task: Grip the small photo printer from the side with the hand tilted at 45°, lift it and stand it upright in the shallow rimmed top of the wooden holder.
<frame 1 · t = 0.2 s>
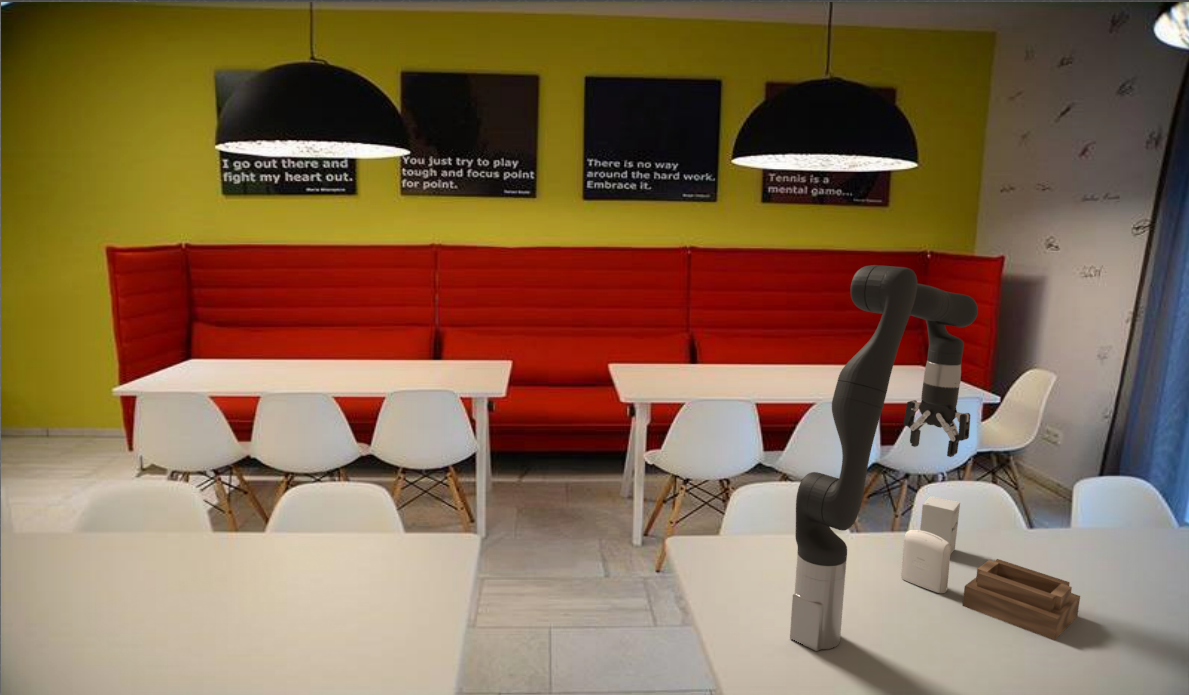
hand: (932, 451, 181), 29 cm above the table, tool pointing down, fingers open, 8 cm apart
supplement box: (936, 551, 196), on the table
photo printer: (923, 585, 179), on the table
wooden holder: (1019, 612, 168), on the table
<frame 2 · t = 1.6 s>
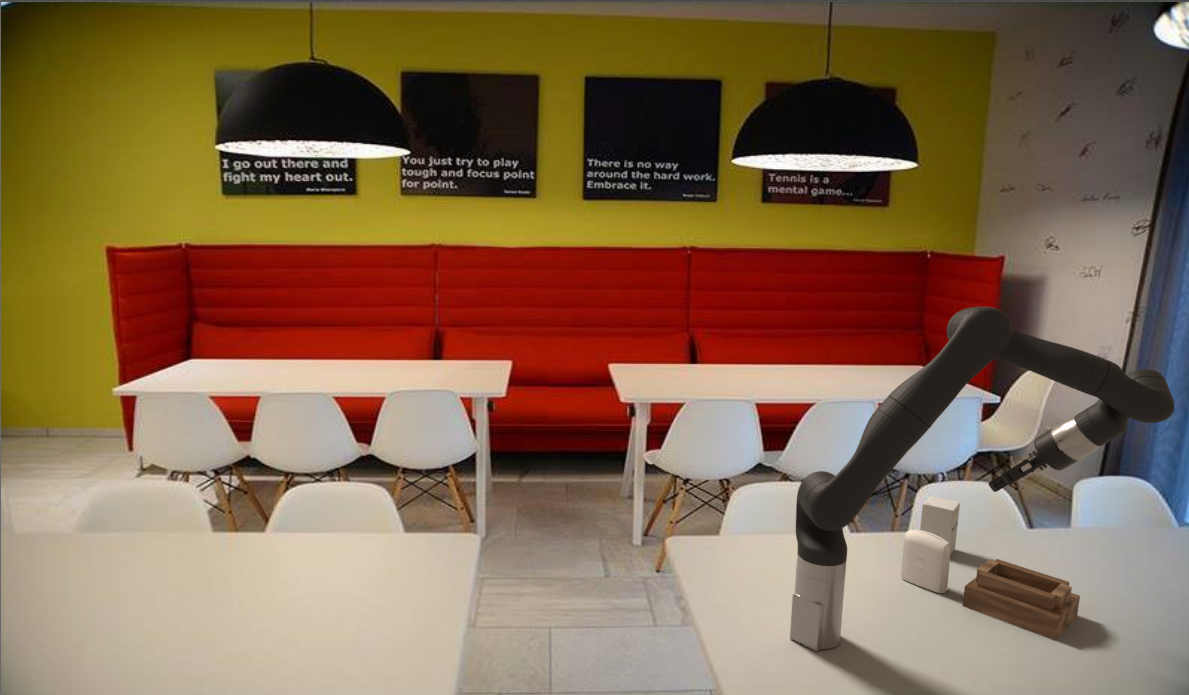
hand: (999, 483, 164), 28 cm above the table, tool tilted 45°, fingers open, 8 cm apart
nothing on the table moved.
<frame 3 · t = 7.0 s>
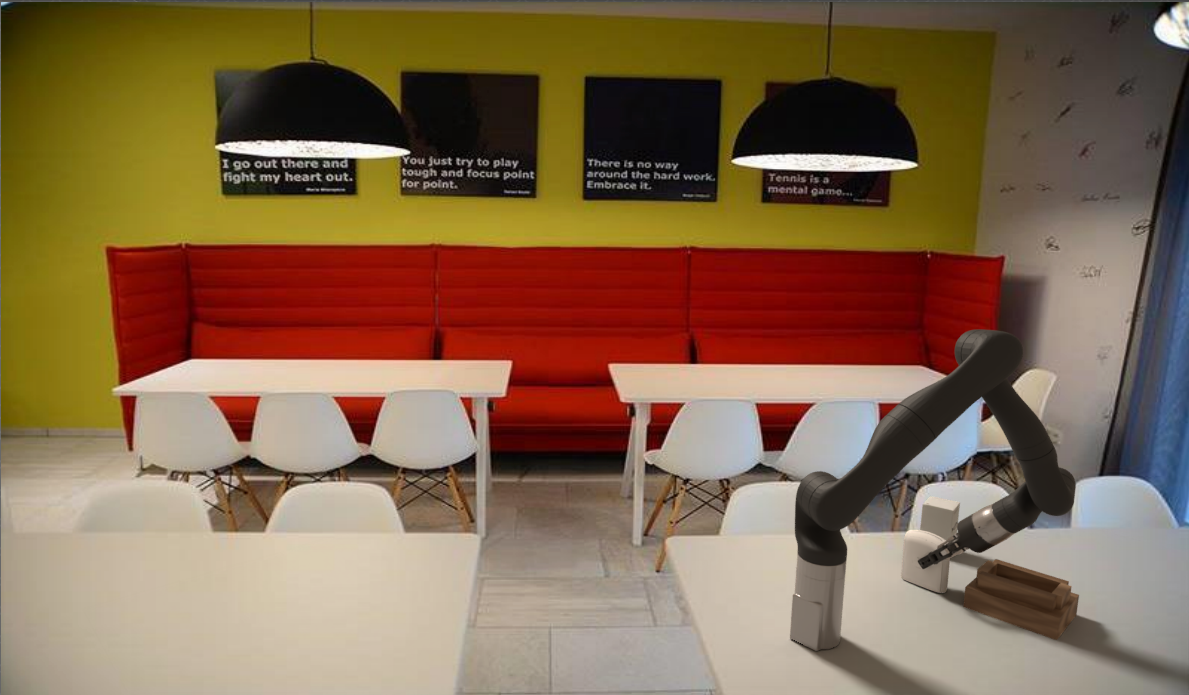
hand: (925, 561, 178), 6 cm above the table, tool tilted 45°, fingers closed on photo printer, 4 cm apart
photo printer: (923, 585, 179), on the table, touching gripper
everything else where it was.
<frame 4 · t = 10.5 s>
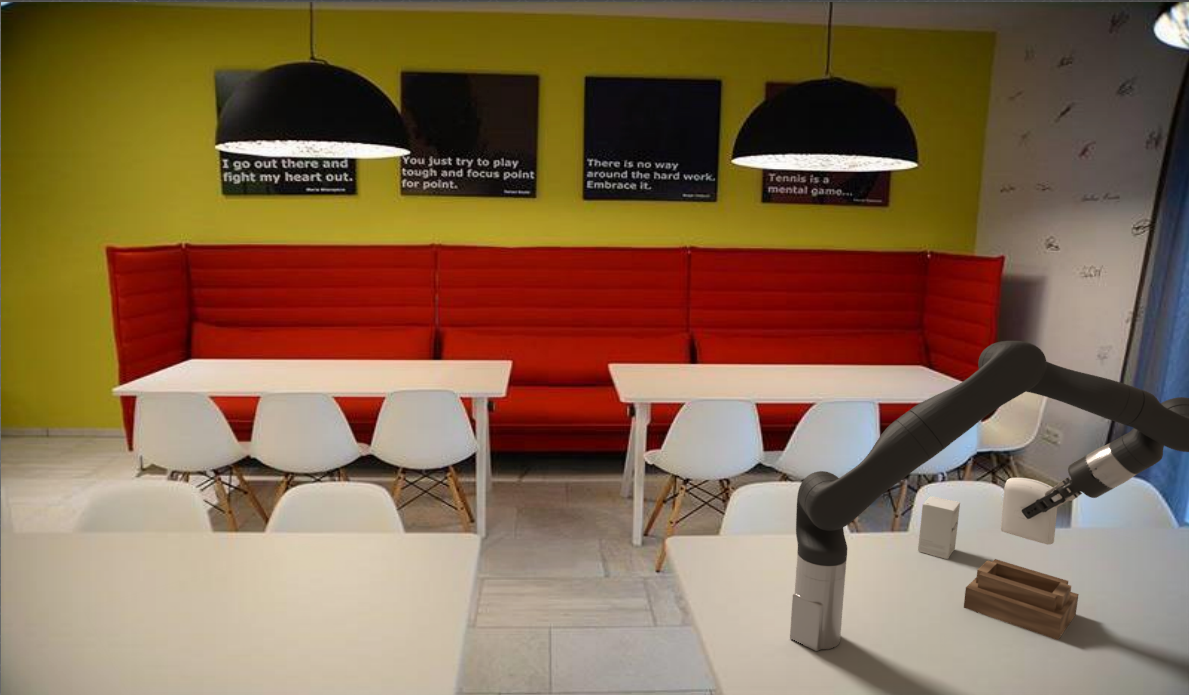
hand: (1029, 511, 164), 22 cm above the table, tool tilted 45°, fingers closed on photo printer, 4 cm apart
photo printer: (1026, 537, 165), point 16 cm above the table, touching gripper
everything else where it was.
when the fingers open (11 cm above the table, at t = 14.0 s): photo printer stays where it is, point 4 cm above the table.
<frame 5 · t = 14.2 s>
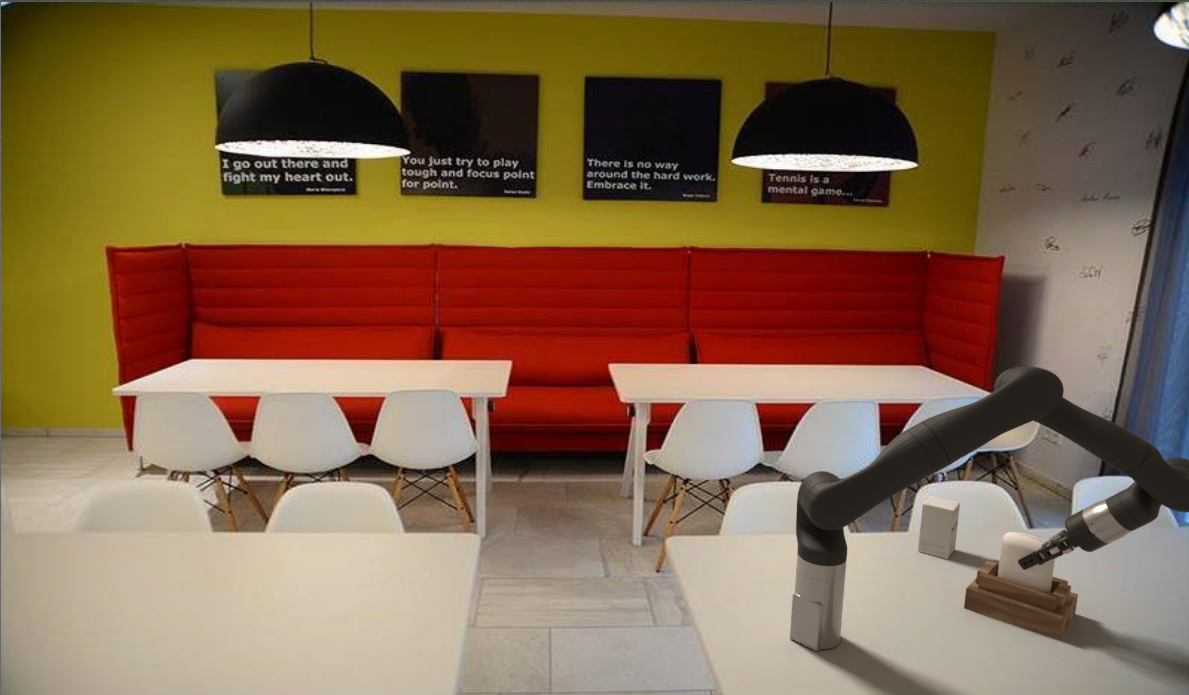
hand: (1026, 560, 165), 11 cm above the table, tool tilted 45°, fingers open, 5 cm apart
photo printer: (1022, 592, 167), point 4 cm above the table
everything else where it was.
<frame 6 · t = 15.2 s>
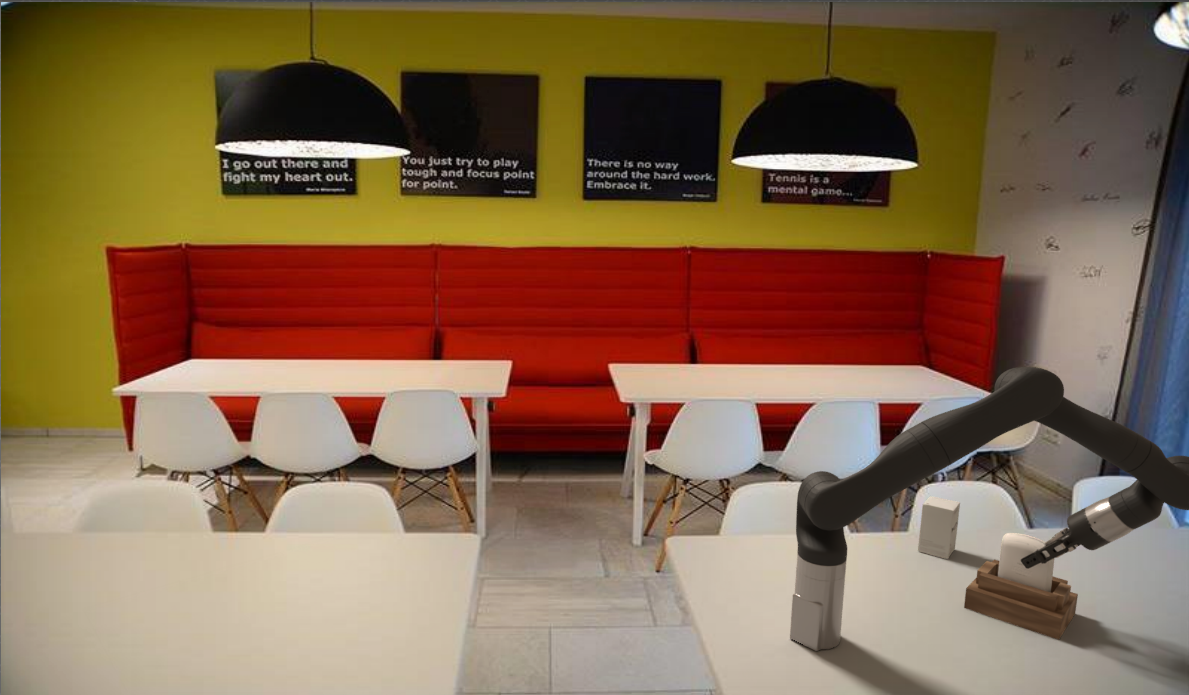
hand: (1031, 558, 165), 12 cm above the table, tool tilted 45°, fingers open, 8 cm apart
nothing on the table moved.
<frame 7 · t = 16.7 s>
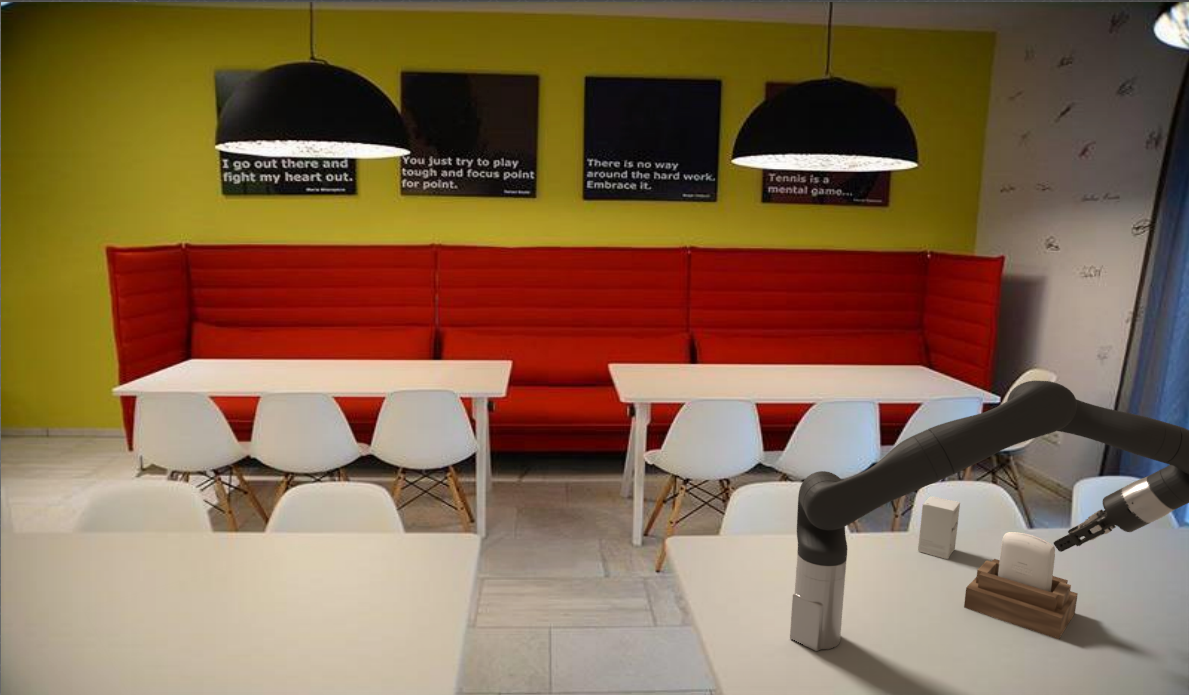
hand: (1064, 541, 160), 18 cm above the table, tool tilted 45°, fingers open, 8 cm apart
photo printer: (1022, 591, 167), point 4 cm above the table, touching wooden holder
wooden holder: (1018, 612, 168), on the table, touching photo printer
everything else where it was.
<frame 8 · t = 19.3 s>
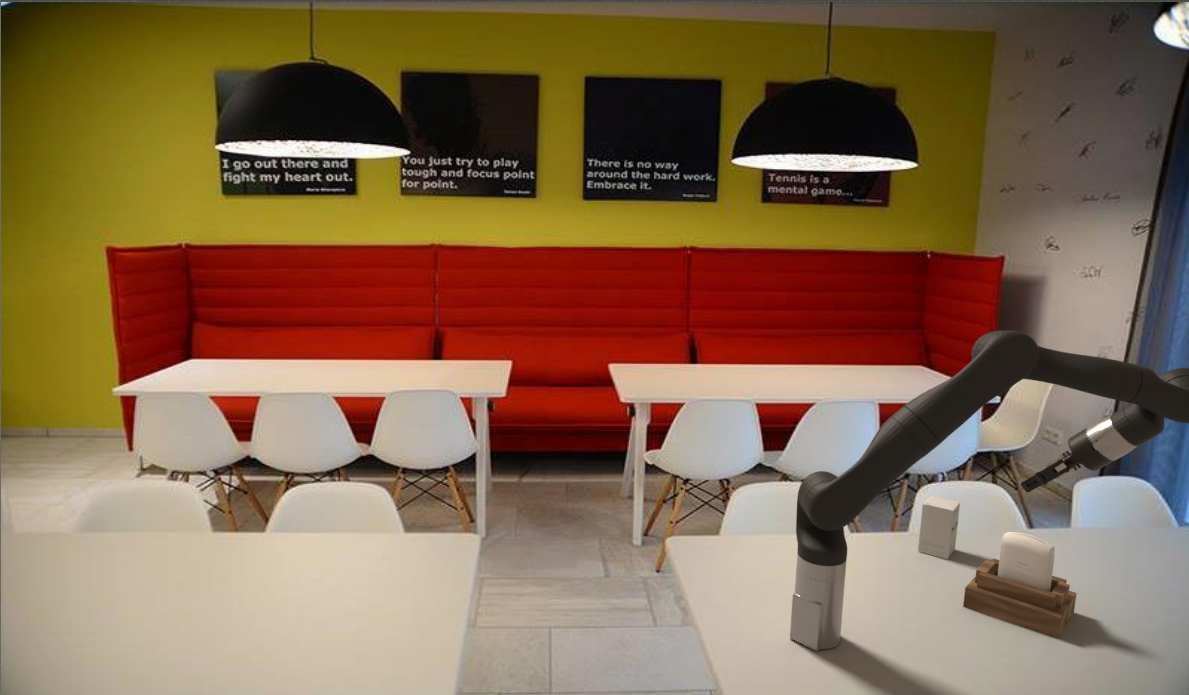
hand: (1031, 483, 162), 29 cm above the table, tool tilted 45°, fingers open, 8 cm apart
nothing on the table moved.
at the end: photo printer 0.3 cm off-centre on the wooden holder, point 4.8 cm above the wooden holder's base; photo printer tilted 0°; the gripper is holding nothing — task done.
